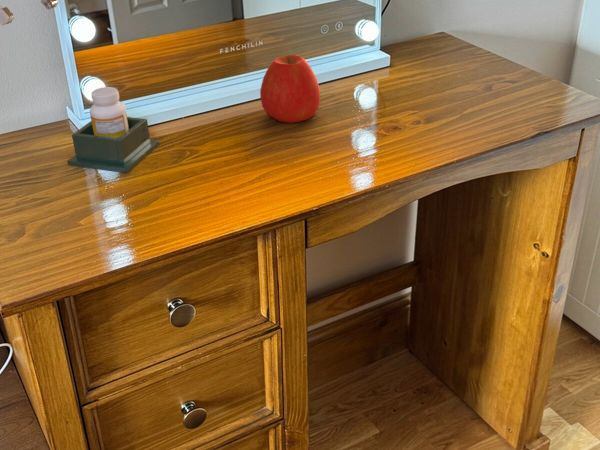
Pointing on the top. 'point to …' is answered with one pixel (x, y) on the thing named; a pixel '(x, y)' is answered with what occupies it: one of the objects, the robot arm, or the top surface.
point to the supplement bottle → (108, 113)
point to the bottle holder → (113, 147)
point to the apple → (290, 90)
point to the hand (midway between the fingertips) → (32, 13)
